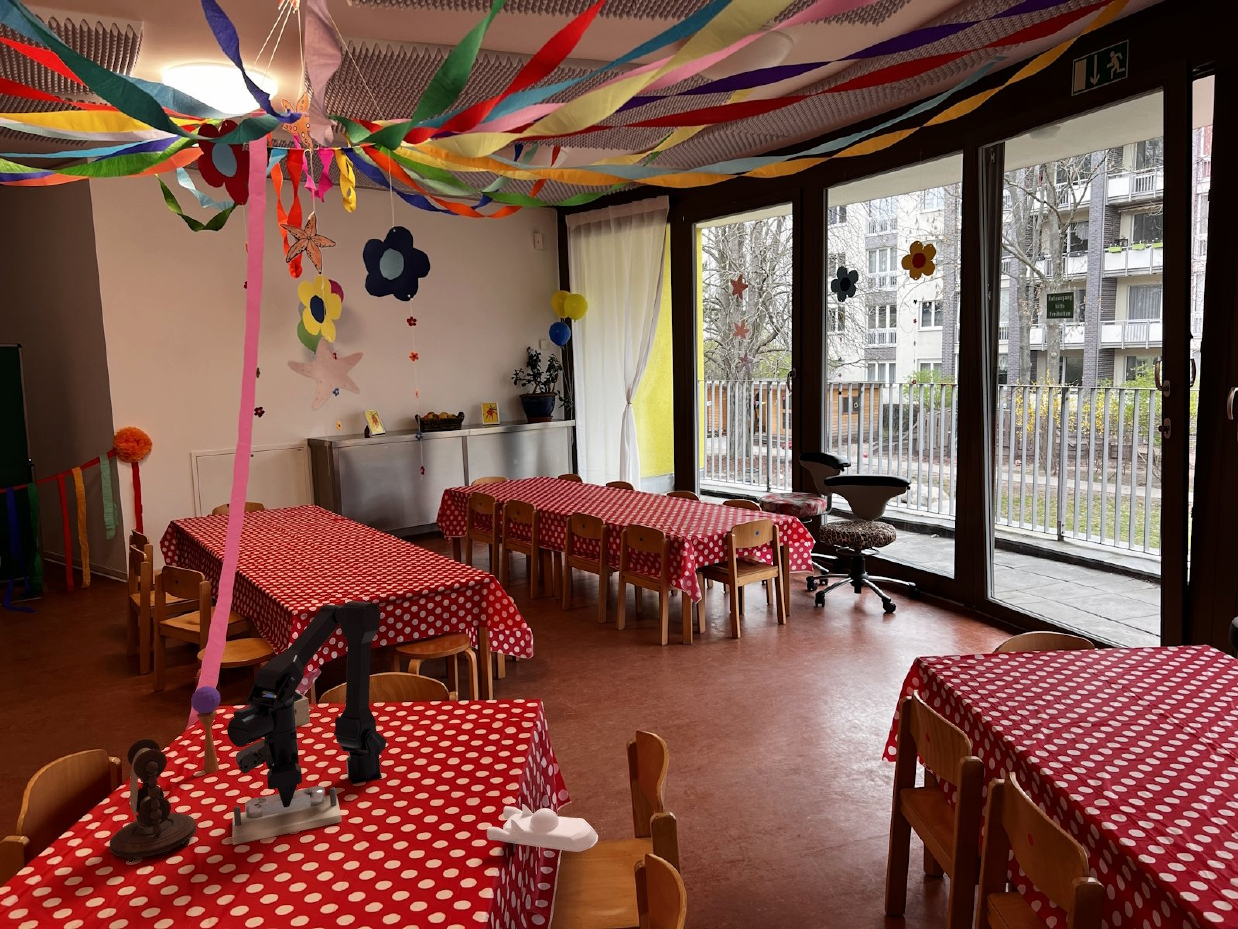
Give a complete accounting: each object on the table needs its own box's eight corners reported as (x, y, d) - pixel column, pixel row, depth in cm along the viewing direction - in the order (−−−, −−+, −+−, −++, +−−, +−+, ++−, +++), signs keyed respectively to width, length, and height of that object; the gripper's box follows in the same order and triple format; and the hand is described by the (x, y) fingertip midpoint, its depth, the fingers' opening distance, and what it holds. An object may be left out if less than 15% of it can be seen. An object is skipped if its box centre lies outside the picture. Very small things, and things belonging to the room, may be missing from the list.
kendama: (201, 780, 200) (194, 693, 198) (194, 772, 205) (187, 687, 203) (229, 772, 204) (222, 687, 202) (221, 764, 208) (214, 680, 207)
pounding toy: (332, 716, 237) (330, 686, 236) (273, 739, 223) (270, 707, 222) (292, 703, 248) (290, 675, 247) (233, 724, 234) (230, 694, 233)
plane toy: (589, 860, 162) (587, 829, 162) (486, 848, 167) (485, 818, 167) (604, 831, 172) (603, 802, 172) (507, 821, 177) (506, 793, 177)
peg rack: (336, 801, 188) (335, 778, 187) (341, 822, 179) (339, 798, 178) (233, 821, 180) (231, 798, 180) (232, 845, 171) (230, 820, 171)
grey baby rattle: (324, 795, 184) (323, 784, 184) (326, 804, 180) (325, 792, 180) (245, 811, 178) (244, 800, 178) (245, 820, 175) (244, 808, 174)
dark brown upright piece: (105, 842, 174) (95, 743, 172) (187, 818, 183) (179, 723, 181) (117, 874, 162) (107, 768, 160) (204, 846, 171) (196, 746, 169)
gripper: (237, 719, 183) (242, 792, 185) (236, 753, 166) (242, 833, 168) (294, 709, 187) (299, 781, 189) (299, 742, 170) (305, 820, 172)
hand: (286, 802), depth 179 cm, fingers closed on grey baby rattle, 3 cm apart
